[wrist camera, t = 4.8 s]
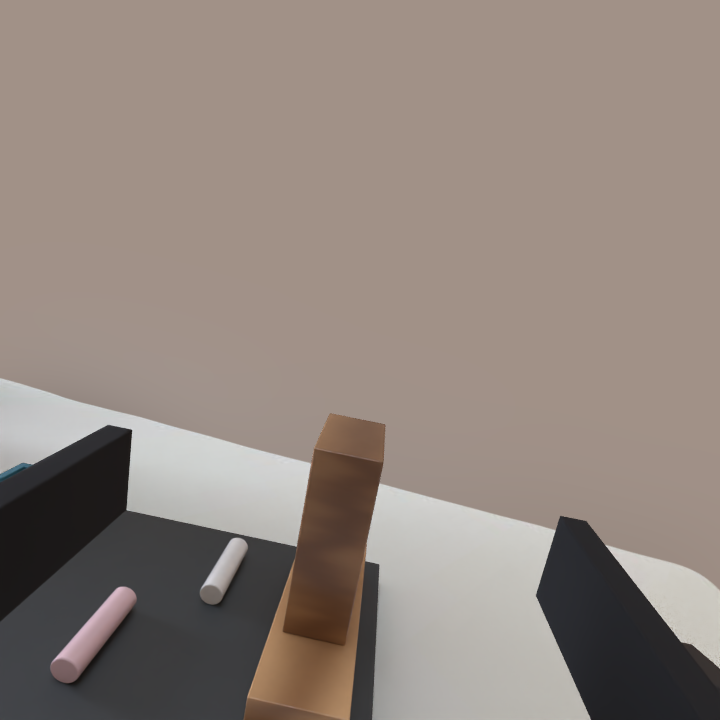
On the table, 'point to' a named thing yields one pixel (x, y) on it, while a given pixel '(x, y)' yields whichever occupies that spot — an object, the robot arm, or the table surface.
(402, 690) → the table surface
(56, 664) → the chalk
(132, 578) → the chalkboard
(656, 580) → the table surface
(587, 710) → the robot arm
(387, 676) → the table surface
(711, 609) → the table surface
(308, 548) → the wooden block on base
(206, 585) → the chalk
